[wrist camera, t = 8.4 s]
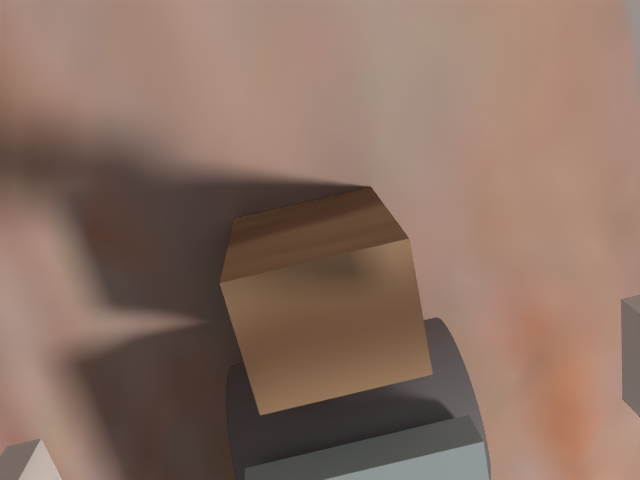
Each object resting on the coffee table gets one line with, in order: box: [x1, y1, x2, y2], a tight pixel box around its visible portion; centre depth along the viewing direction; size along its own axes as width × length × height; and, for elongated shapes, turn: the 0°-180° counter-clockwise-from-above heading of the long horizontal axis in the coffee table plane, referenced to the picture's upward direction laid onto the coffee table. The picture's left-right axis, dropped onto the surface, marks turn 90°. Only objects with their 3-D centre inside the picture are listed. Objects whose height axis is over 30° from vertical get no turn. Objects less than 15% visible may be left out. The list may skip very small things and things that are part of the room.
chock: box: [220, 187, 433, 415], centre depth 21 cm, size 5×6×7 cm
